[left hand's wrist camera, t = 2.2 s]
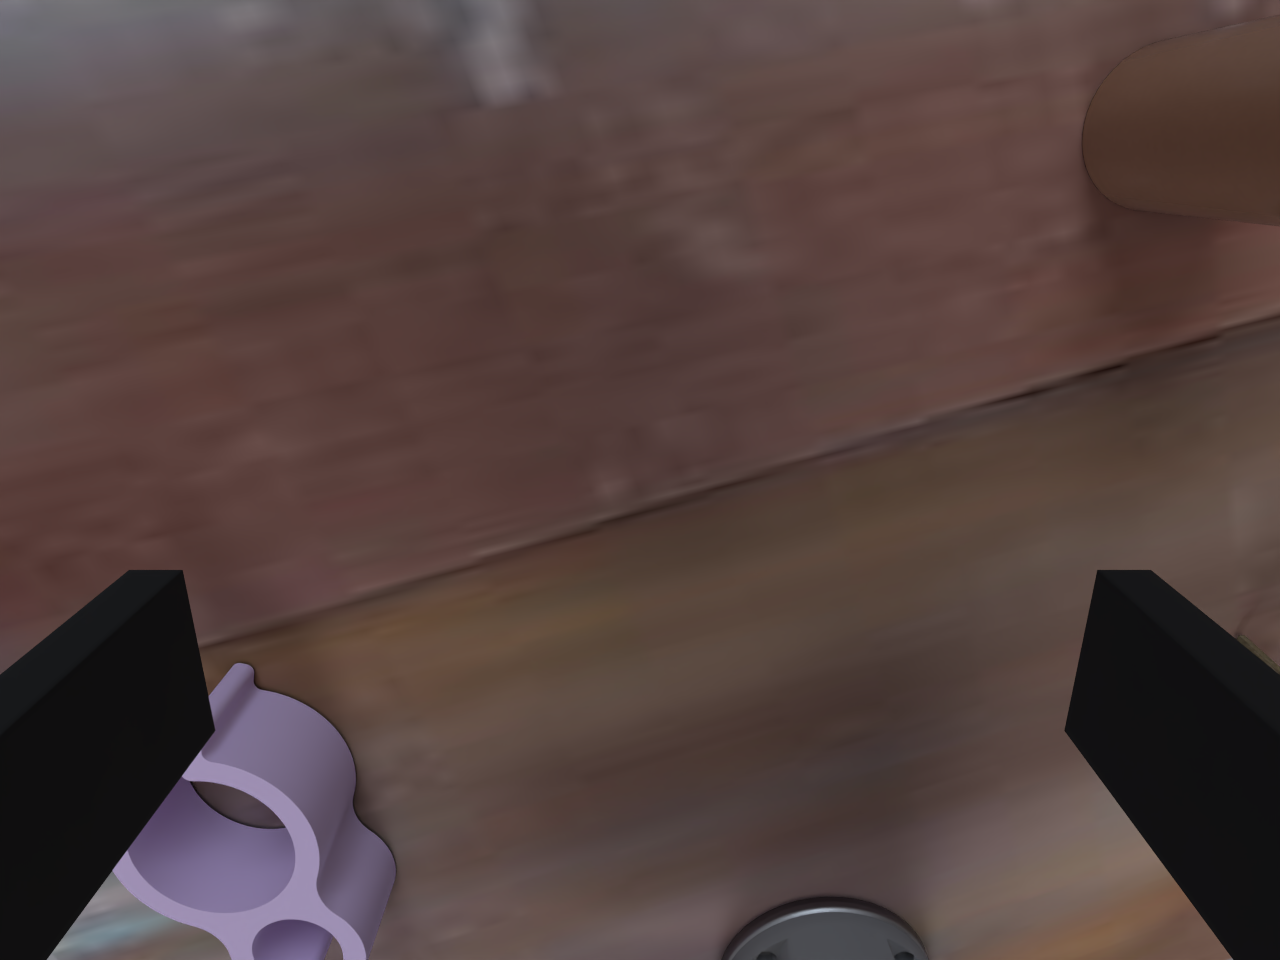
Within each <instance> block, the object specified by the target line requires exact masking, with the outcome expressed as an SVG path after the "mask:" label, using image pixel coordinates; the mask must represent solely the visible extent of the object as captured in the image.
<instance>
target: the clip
mask: <svg viewBox="0 0 1280 960" xmlns="http://www.w3.org/2000/svg"><path fill="white" fill-rule="evenodd" d="M209 702H210V706H211V711H212V716H213V721H214V726H215V732H214V733H213V735H212V736H211V737H210V739H209V740H208V741H207V743H206V744H205V746H204V747H203V748H202V750H201V751H200V752H199V754H198V755H197V756H196V758H195V759H194V760H193V762H192V763H191V765H190V766H189V767H188V769H187V770H186V771H185V773H184V774H183V775H182V777H181V778H180V779H179V781H178V782H177V783H176V785H175V786H174V788H173V789H172V790H171V792H170V793H169V794H168V796H167V797H166V798H165V800H164V801H163V802H162V804H161V805H160V807H159V808H158V809H157V811H156V812H155V813H154V815H153V816H152V817H151V819H150V820H149V821H148V823H147V824H146V826H145V827H144V828H143V830H142V831H141V832H140V834H139V835H138V836H137V838H136V839H135V840H134V842H133V843H132V844H131V846H130V847H129V849H128V850H127V851H126V853H125V854H124V855H123V857H122V858H121V859H120V861H119V862H118V863H117V865H116V866H115V868H114V869H113V872H114V873H115V875H116V876H117V878H118V879H119V880H120V882H121V883H122V884H123V885H124V886H125V887H126V888H127V889H128V890H129V891H130V892H131V893H132V894H133V895H134V896H135V897H136V898H137V899H139V900H140V901H141V902H143V903H144V904H145V905H147V906H148V907H150V908H152V909H153V910H155V911H157V912H158V913H160V914H162V915H164V916H166V917H169V918H171V919H173V920H176V921H178V922H181V923H184V924H188V925H191V926H195V927H198V928H201V929H203V930H205V931H207V932H209V933H211V934H213V935H214V936H215V937H217V938H218V939H219V940H220V941H221V942H222V943H223V944H224V945H225V946H226V948H227V950H228V951H229V954H230V956H231V959H232V960H324V959H325V956H326V954H327V951H328V948H329V946H330V943H331V941H332V938H333V936H334V937H335V938H336V939H337V941H338V942H339V944H340V946H341V948H342V951H343V960H368V958H369V955H370V952H371V949H372V946H373V943H374V940H375V937H376V934H377V932H378V929H379V926H380V923H381V920H382V917H383V914H384V911H385V908H386V905H387V902H388V899H389V896H390V893H391V890H392V887H393V884H394V881H395V876H396V866H395V862H394V858H393V856H392V854H391V852H390V850H389V849H388V847H387V846H386V844H385V843H384V842H383V841H382V840H381V839H380V838H379V837H378V836H377V835H375V834H374V833H373V832H371V831H370V830H368V829H367V828H366V827H365V826H364V825H363V824H362V823H361V822H360V821H359V820H358V818H357V816H356V814H355V812H354V809H353V796H354V792H355V786H356V772H355V766H354V762H353V758H352V755H351V753H350V750H349V748H348V746H347V744H346V743H345V741H344V739H343V738H342V736H341V735H340V734H339V732H338V731H337V730H336V729H335V728H334V727H333V726H332V724H331V723H330V722H329V721H327V720H326V719H325V718H324V717H323V716H322V715H320V714H319V713H318V712H316V711H315V710H313V709H312V708H310V707H309V706H307V705H305V704H303V703H301V702H299V701H297V700H295V699H293V698H290V697H288V696H285V695H282V694H278V693H275V692H270V691H265V690H260V689H258V688H257V687H256V686H255V685H254V670H253V668H252V667H251V666H250V665H248V664H243V663H237V664H234V665H233V666H232V668H231V669H230V670H229V671H228V673H227V674H226V675H225V676H224V678H223V679H222V680H221V681H220V683H219V684H218V685H217V686H216V688H215V689H214V690H213V692H212V693H211V694H210V695H209ZM190 781H206V782H214V783H219V784H223V785H227V786H230V787H234V788H236V789H239V790H241V791H243V792H246V793H248V794H249V795H251V796H253V797H255V798H256V799H258V800H260V801H261V802H262V803H264V804H265V805H266V806H268V807H269V808H270V809H271V810H272V811H273V812H274V813H275V814H276V815H277V816H278V817H279V818H280V820H281V821H282V822H283V824H284V825H285V826H286V828H280V829H262V828H254V827H249V826H246V825H242V824H239V823H236V822H234V821H232V820H229V819H227V818H225V817H224V816H222V815H220V814H219V813H217V812H216V811H214V810H213V809H212V808H210V807H209V806H208V805H207V804H206V803H205V802H204V801H203V800H202V799H201V798H200V797H199V796H198V794H197V793H196V792H195V790H194V789H193V787H192V785H191V783H190Z"/></svg>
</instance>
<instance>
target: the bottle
mask: <svg viewBox="0 0 1280 960" xmlns="http://www.w3.org/2000/svg"><path fill="white" fill-rule="evenodd" d="M1082 148H1083V157H1084V161H1085V165H1086V168H1087V171H1088V173H1089V176H1090V178H1091V179H1092V181H1093V183H1094V184H1095V186H1096V187H1097V188H1098V189H1099V191H1100V192H1101V193H1102V194H1103V195H1104V196H1105V197H1107V198H1108V199H1109V200H1111V201H1112V202H1114V203H1115V204H1118V205H1120V206H1122V207H1124V208H1128V209H1131V210H1137V211H1145V212H1154V213H1163V214H1172V215H1181V216H1190V217H1199V218H1208V219H1217V220H1226V221H1235V222H1244V223H1253V224H1262V225H1271V226H1280V15H1275V16H1271V17H1266V18H1262V19H1257V20H1253V21H1248V22H1244V23H1239V24H1234V25H1230V26H1225V27H1221V28H1216V29H1212V30H1207V31H1203V32H1198V33H1194V34H1189V35H1184V36H1180V37H1175V38H1171V39H1166V40H1162V41H1159V42H1155V43H1152V44H1150V45H1148V46H1145V47H1143V48H1141V49H1139V50H1138V51H1136V52H1134V53H1133V54H1131V55H1130V56H1128V57H1127V58H1126V59H1124V60H1123V61H1122V62H1121V63H1120V64H1119V65H1118V66H1116V67H1115V68H1114V69H1113V70H1112V72H1111V73H1110V74H1109V75H1108V76H1107V77H1106V79H1105V80H1104V81H1103V83H1102V84H1101V86H1100V87H1099V89H1098V90H1097V92H1096V94H1095V96H1094V98H1093V100H1092V102H1091V104H1090V107H1089V109H1088V112H1087V115H1086V119H1085V122H1084V129H1083V138H1082Z"/></svg>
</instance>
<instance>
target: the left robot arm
mask: <svg viewBox="0 0 1280 960" xmlns="http://www.w3.org/2000/svg"><path fill="white" fill-rule="evenodd" d="M214 732H215V726H214V721H213V716H212V711H211V706H210V702H209V697H208V692H207V687H206V682H205V677H204V672H203V667H202V662H201V658H200V653H199V648H198V643H197V638H196V633H195V628H194V623H193V619H192V614H191V609H190V604H189V599H188V594H187V589H186V584H185V580H184V575H183V570H129V571H127V572H126V573H125V574H124V575H123V576H121V577H120V578H119V579H118V580H116V581H115V582H114V583H113V584H111V585H110V586H109V587H108V588H107V589H105V590H104V591H103V592H102V593H100V594H99V595H98V596H97V597H95V598H94V599H93V600H92V601H91V602H89V603H88V604H87V605H86V606H84V607H83V608H82V609H81V610H79V611H78V612H77V613H76V614H75V615H73V616H72V617H71V618H70V619H68V620H67V621H66V622H65V623H63V624H62V625H61V626H60V627H59V628H57V629H56V630H55V631H54V632H52V633H51V634H50V635H49V636H47V637H46V638H45V639H44V640H43V641H41V642H40V643H39V644H38V645H36V646H35V647H34V648H33V649H31V650H30V651H29V652H28V653H27V654H25V655H24V656H23V657H22V658H20V659H19V660H18V661H17V662H15V663H14V664H13V665H12V666H10V667H9V668H8V669H7V670H6V671H4V672H3V673H2V674H1V675H0V960H47V958H48V957H49V956H50V954H51V953H52V952H53V950H54V949H55V948H56V946H57V945H58V943H59V942H60V941H61V939H62V938H63V937H64V935H65V934H66V933H67V931H68V930H69V929H70V927H71V926H72V924H73V923H74V922H75V920H76V919H77V918H78V916H79V915H80V914H81V912H82V911H83V910H84V908H85V907H86V905H87V904H88V903H89V901H90V900H91V899H92V897H93V896H94V895H95V893H96V892H97V891H98V889H99V888H100V887H101V885H102V884H103V882H104V881H105V880H106V878H107V877H108V876H109V874H110V873H111V872H112V870H113V869H114V868H115V866H116V865H117V863H118V862H119V861H120V859H121V858H122V857H123V855H124V854H125V853H126V851H127V850H128V849H129V847H130V846H131V844H132V843H133V842H134V840H135V839H136V838H137V836H138V835H139V834H140V832H141V831H142V830H143V828H144V827H145V826H146V824H147V823H148V821H149V820H150V819H151V817H152V816H153V815H154V813H155V812H156V811H157V809H158V808H159V807H160V805H161V804H162V802H163V801H164V800H165V798H166V797H167V796H168V794H169V793H170V792H171V790H172V789H173V788H174V786H175V785H176V783H177V782H178V781H179V779H180V778H181V777H182V775H183V774H184V773H185V771H186V770H187V769H188V767H189V766H190V765H191V763H192V762H193V760H194V759H195V758H196V756H197V755H198V754H199V752H200V751H201V750H202V748H203V747H204V746H205V744H206V743H207V741H208V740H209V739H210V737H211V736H212V735H213V733H214ZM1065 732H1066V733H1067V735H1068V736H1069V737H1070V739H1071V740H1072V741H1073V743H1074V744H1075V746H1076V747H1077V748H1078V750H1079V751H1080V752H1081V754H1082V755H1083V756H1084V758H1085V759H1086V760H1087V762H1088V763H1089V765H1090V766H1091V767H1092V769H1093V770H1094V771H1095V773H1096V774H1097V775H1098V777H1099V778H1100V779H1101V781H1102V782H1103V784H1104V785H1105V786H1106V788H1107V789H1108V790H1109V792H1110V793H1111V794H1112V796H1113V797H1114V798H1115V800H1116V801H1117V802H1118V804H1119V805H1120V807H1121V808H1122V809H1123V811H1124V812H1125V813H1126V815H1127V816H1128V817H1129V819H1130V820H1131V821H1132V823H1133V824H1134V826H1135V827H1136V828H1137V830H1138V831H1139V832H1140V834H1141V835H1142V836H1143V838H1144V839H1145V840H1146V842H1147V843H1148V845H1149V846H1150V847H1151V849H1152V850H1153V851H1154V853H1155V854H1156V855H1157V857H1158V858H1159V859H1160V861H1161V862H1162V863H1163V865H1164V866H1165V868H1166V869H1167V870H1168V872H1169V873H1170V874H1171V876H1172V877H1173V878H1174V880H1175V881H1176V882H1177V884H1178V885H1179V887H1180V888H1181V889H1182V891H1183V892H1184V893H1185V895H1186V896H1187V897H1188V899H1189V900H1190V901H1191V903H1192V904H1193V906H1194V907H1195V908H1196V910H1197V911H1198V912H1199V914H1200V915H1201V916H1202V918H1203V919H1204V920H1205V922H1206V923H1207V924H1208V926H1209V927H1210V929H1211V930H1212V931H1213V933H1214V934H1215V935H1216V937H1217V938H1218V939H1219V941H1220V942H1221V943H1222V945H1223V946H1224V948H1225V949H1226V950H1227V952H1228V953H1229V954H1230V956H1231V957H1232V958H1233V960H1280V675H1279V674H1278V673H1277V672H1276V671H1274V670H1273V669H1272V668H1271V667H1269V666H1268V665H1267V664H1266V663H1265V662H1263V661H1262V660H1261V659H1260V658H1258V657H1257V656H1256V655H1255V654H1253V653H1252V652H1251V651H1250V650H1249V649H1247V648H1246V647H1245V646H1244V645H1242V644H1241V643H1240V642H1239V641H1237V640H1236V639H1235V638H1234V637H1233V636H1231V635H1230V634H1229V633H1228V632H1226V631H1225V630H1224V629H1223V628H1221V627H1220V626H1219V625H1218V624H1217V623H1215V622H1214V621H1213V620H1212V619H1210V618H1209V617H1208V616H1207V615H1205V614H1204V613H1203V612H1202V611H1201V610H1199V609H1198V608H1197V607H1196V606H1194V605H1193V604H1192V603H1191V602H1189V601H1188V600H1187V599H1186V598H1185V597H1183V596H1182V595H1181V594H1180V593H1178V592H1177V591H1176V590H1175V589H1173V588H1172V587H1171V586H1170V585H1169V584H1167V583H1166V582H1165V581H1164V580H1162V579H1161V578H1160V577H1159V576H1157V575H1156V574H1155V573H1154V572H1153V571H1151V570H1097V575H1096V580H1095V584H1094V589H1093V594H1092V599H1091V604H1090V609H1089V614H1088V619H1087V623H1086V628H1085V633H1084V638H1083V643H1082V648H1081V653H1080V658H1079V662H1078V667H1077V672H1076V677H1075V682H1074V687H1073V692H1072V697H1071V702H1070V706H1069V711H1068V716H1067V721H1066V726H1065ZM722 960H929V959H928V956H927V954H926V951H925V948H924V946H923V944H922V942H921V940H920V938H919V937H918V935H917V934H916V932H915V931H914V930H913V929H912V928H911V927H910V926H909V925H908V924H907V923H906V922H905V921H904V920H903V919H901V918H900V917H899V916H897V915H896V914H894V913H892V912H891V911H889V910H887V909H885V908H883V907H880V906H878V905H875V904H872V903H869V902H866V901H862V900H857V899H851V898H843V897H819V898H810V899H805V900H799V901H795V902H792V903H788V904H785V905H782V906H780V907H777V908H775V909H773V910H770V911H768V912H767V913H765V914H763V915H761V916H759V917H758V918H756V919H755V920H753V921H752V922H751V923H749V924H748V925H747V926H746V927H744V928H743V929H742V930H741V931H740V932H739V933H738V934H737V935H736V937H735V938H734V939H733V940H732V942H731V943H730V945H729V946H728V947H727V949H726V951H725V953H724V955H723V958H722Z"/></svg>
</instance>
